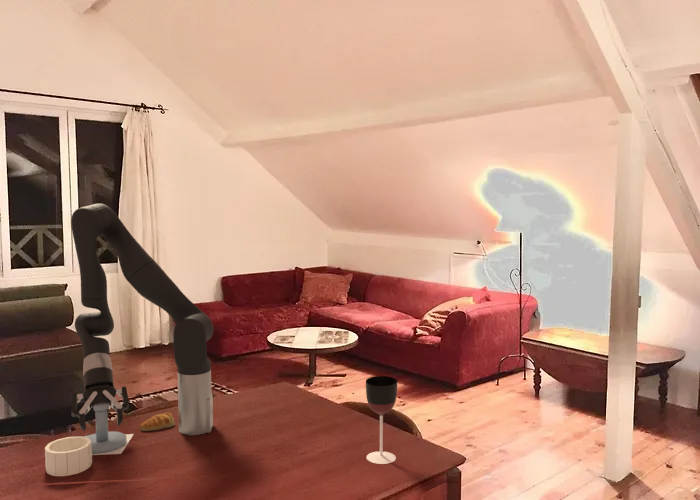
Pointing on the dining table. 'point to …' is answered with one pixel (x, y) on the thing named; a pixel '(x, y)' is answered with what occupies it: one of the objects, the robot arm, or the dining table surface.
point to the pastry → (158, 422)
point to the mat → (120, 450)
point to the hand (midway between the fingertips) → (102, 426)
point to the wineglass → (381, 409)
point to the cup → (68, 456)
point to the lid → (105, 432)
